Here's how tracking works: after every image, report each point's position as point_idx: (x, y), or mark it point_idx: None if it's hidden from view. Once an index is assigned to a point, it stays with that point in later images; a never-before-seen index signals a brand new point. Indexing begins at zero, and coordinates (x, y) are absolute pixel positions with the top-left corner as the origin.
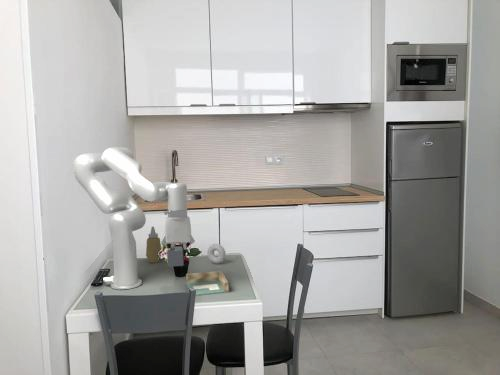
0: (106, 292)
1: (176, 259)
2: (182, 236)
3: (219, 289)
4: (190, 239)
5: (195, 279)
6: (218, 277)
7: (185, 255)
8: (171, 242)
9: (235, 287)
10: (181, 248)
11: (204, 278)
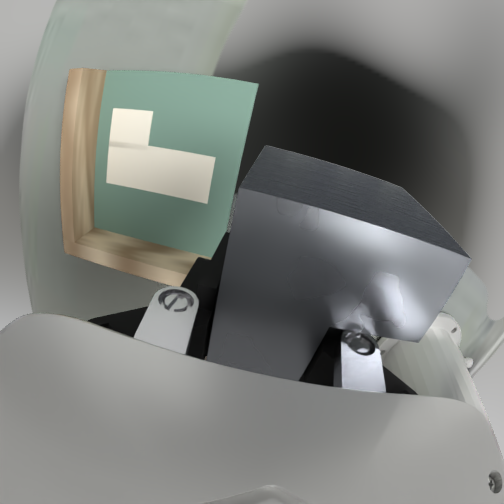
0: (483, 312)
1: (338, 178)
2: (130, 491)
3: (114, 106)
4: (5, 327)
5: (178, 256)
6: (88, 232)
7: (199, 261)
8: (431, 398)
9: (61, 122)
10: (221, 337)
11: (139, 247)
